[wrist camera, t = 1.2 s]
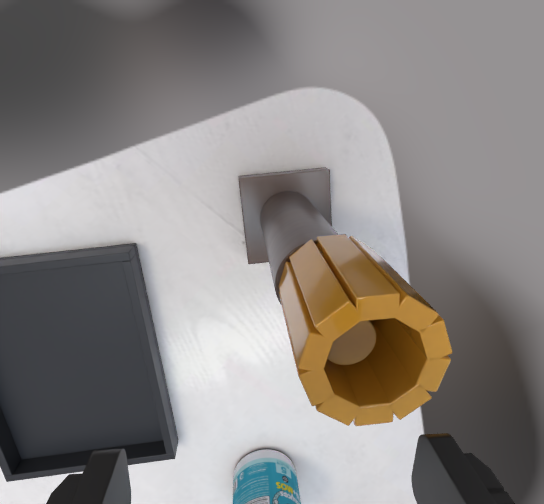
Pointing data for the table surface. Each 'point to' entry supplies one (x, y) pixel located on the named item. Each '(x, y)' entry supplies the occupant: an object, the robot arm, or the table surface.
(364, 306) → the golden brown grooved sleeve
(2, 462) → the tray
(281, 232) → the stand
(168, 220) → the table surface
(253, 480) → the pill bottle
